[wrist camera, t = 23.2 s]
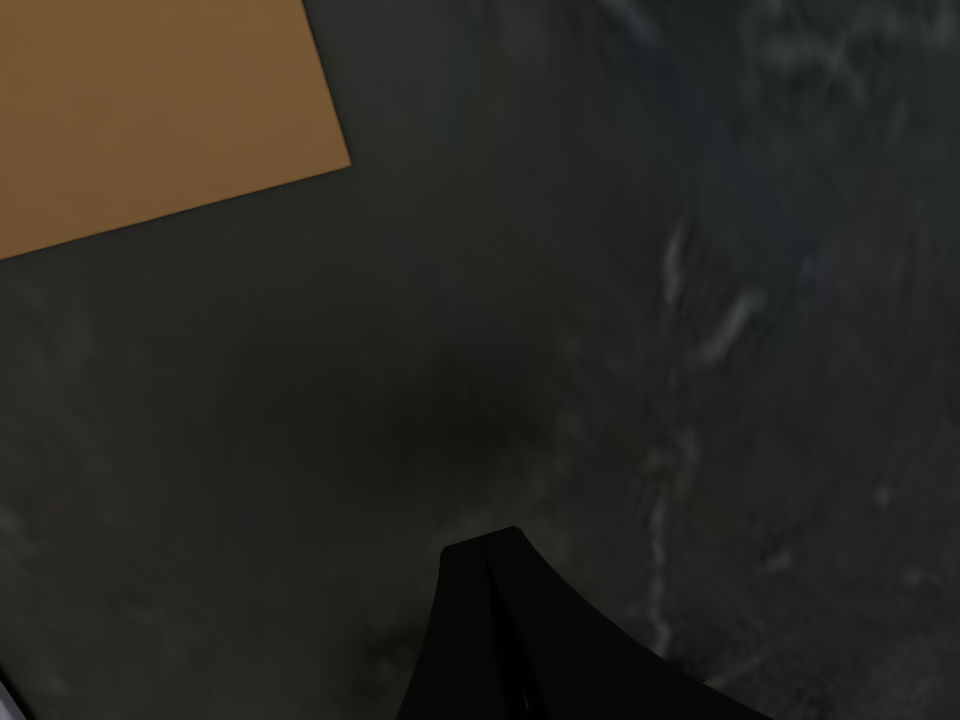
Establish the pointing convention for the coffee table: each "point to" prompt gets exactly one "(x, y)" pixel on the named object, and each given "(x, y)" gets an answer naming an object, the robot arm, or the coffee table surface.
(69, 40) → the mat
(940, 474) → the coffee table surface
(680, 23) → the coffee table surface
